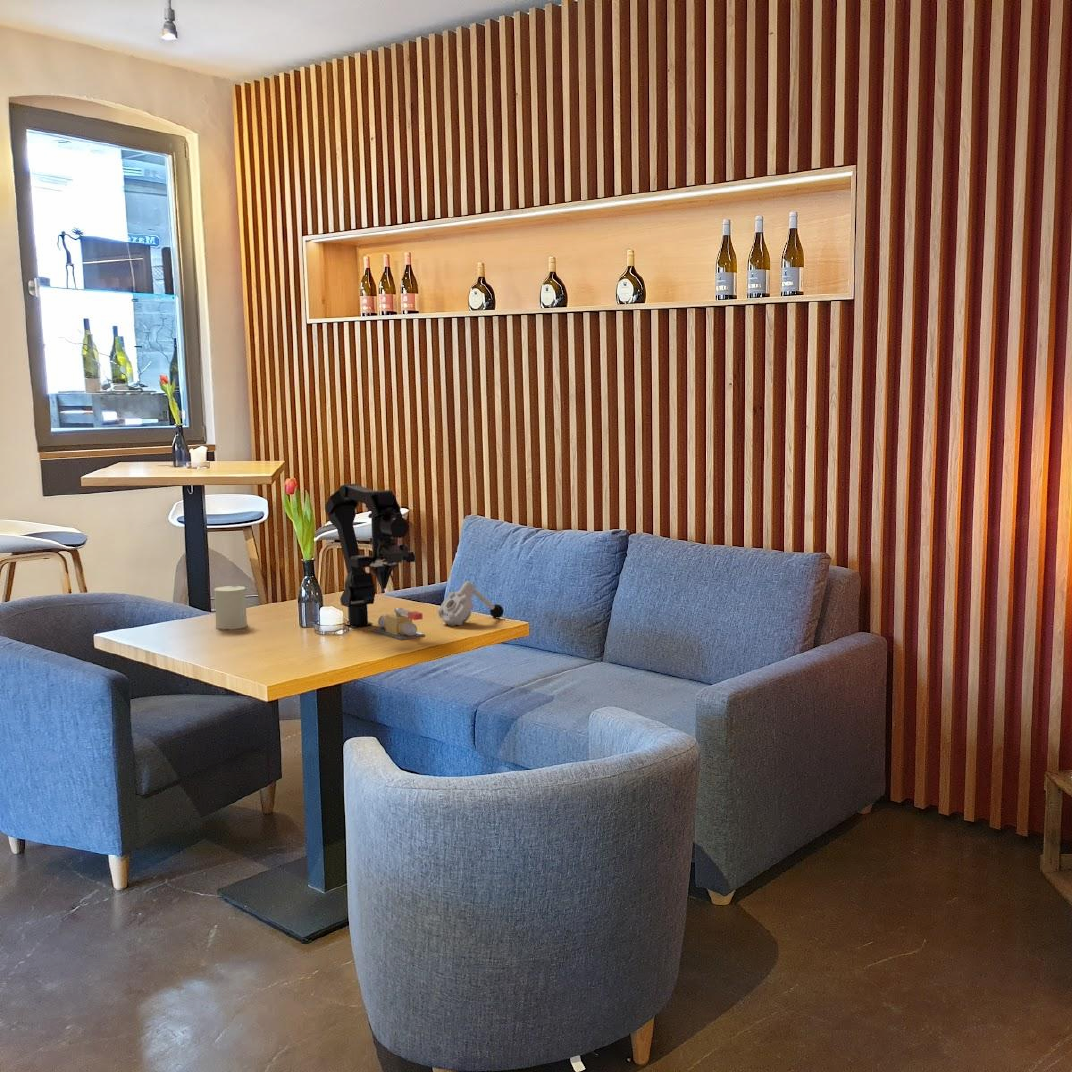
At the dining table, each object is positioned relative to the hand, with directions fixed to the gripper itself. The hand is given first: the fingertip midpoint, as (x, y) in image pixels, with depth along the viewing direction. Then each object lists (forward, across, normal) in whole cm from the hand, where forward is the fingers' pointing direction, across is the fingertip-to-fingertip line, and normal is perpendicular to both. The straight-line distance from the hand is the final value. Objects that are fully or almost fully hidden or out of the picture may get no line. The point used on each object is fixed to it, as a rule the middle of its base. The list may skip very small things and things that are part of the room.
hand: (383, 588), depth 322 cm
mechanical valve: (+13, +30, -1) cm, 33 cm away
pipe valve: (+13, +3, -3) cm, 14 cm away
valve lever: (+7, +3, -8) cm, 11 cm away
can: (+13, -30, +39) cm, 51 cm away
